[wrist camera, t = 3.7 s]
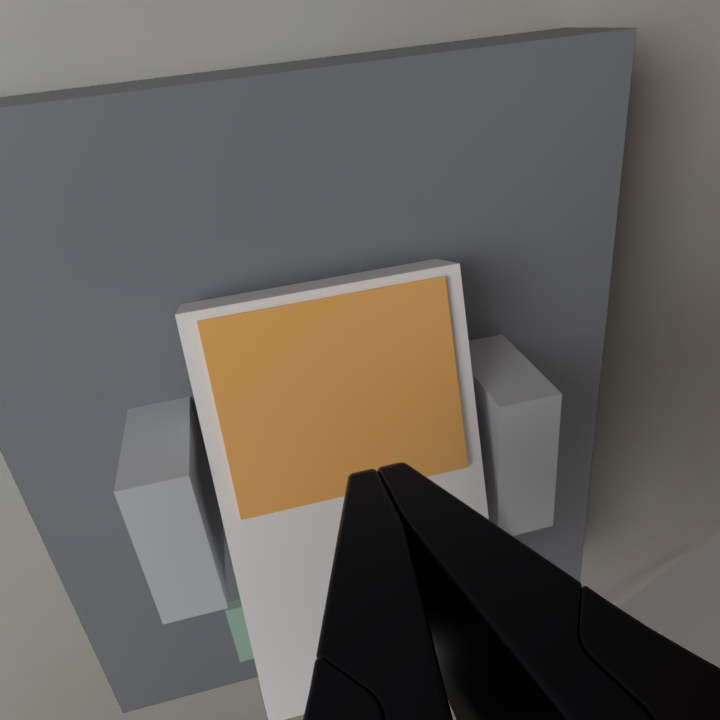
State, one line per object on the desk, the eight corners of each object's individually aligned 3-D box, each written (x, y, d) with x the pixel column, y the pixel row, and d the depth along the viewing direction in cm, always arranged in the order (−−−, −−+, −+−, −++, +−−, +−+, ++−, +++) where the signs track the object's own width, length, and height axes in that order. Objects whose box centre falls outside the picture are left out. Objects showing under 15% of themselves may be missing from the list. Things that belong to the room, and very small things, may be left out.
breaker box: (539, 531, 25) (631, 666, 20) (131, 635, 23) (111, 820, 18) (567, 27, 17) (744, 28, 11) (-88, 108, 14) (-258, 158, 9)
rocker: (480, 618, 18) (507, 661, 16) (265, 677, 17) (269, 729, 15) (436, 258, 15) (462, 263, 13) (181, 304, 14) (174, 315, 12)
